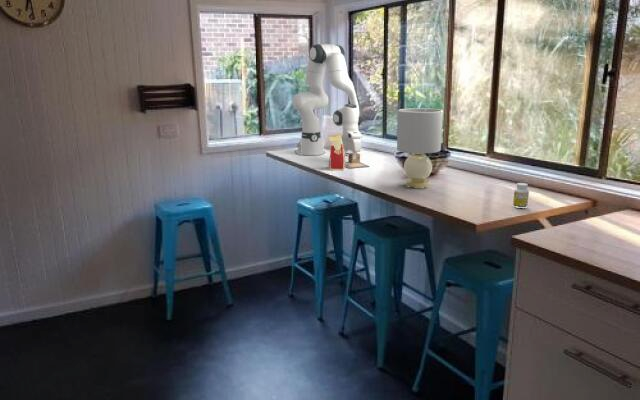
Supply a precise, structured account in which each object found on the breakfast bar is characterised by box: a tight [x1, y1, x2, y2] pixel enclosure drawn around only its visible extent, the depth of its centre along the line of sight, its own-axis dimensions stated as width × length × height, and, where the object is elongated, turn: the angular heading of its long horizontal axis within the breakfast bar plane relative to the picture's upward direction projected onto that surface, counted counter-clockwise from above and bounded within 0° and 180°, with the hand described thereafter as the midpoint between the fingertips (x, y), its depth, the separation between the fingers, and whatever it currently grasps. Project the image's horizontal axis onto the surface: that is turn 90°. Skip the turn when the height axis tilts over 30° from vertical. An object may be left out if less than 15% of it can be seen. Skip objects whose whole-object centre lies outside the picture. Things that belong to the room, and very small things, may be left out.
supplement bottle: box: [512, 182, 530, 207], centre depth 201 cm, size 5×5×10 cm
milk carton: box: [328, 132, 346, 172], centre depth 277 cm, size 9×9×20 cm
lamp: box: [396, 107, 444, 189], centre depth 234 cm, size 20×20×35 cm
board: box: [345, 161, 370, 170], centre depth 288 cm, size 16×12×1 cm
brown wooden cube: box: [347, 152, 361, 163], centre depth 292 cm, size 5×5×5 cm
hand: (350, 157), depth 291 cm, fingers open, 8 cm apart
